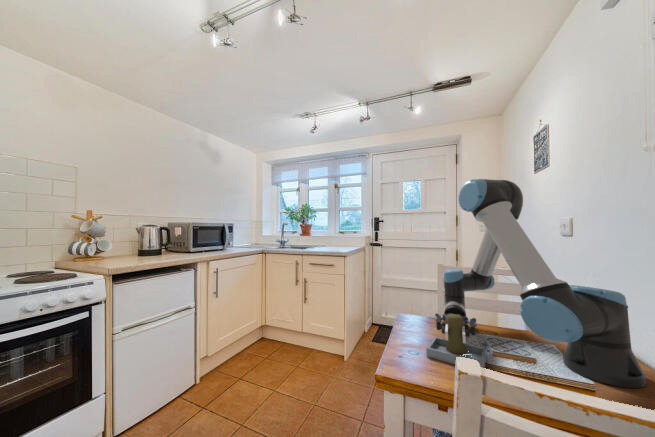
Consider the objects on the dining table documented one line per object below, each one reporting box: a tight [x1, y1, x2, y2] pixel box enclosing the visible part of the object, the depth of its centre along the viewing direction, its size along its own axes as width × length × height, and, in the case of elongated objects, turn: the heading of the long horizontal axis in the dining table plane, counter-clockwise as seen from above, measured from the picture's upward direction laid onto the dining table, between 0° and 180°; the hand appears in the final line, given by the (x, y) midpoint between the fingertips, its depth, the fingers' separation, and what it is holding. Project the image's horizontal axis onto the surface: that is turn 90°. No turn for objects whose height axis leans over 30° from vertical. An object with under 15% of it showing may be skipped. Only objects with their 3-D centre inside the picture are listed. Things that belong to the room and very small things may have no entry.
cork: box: [446, 314, 467, 355], centre depth 78 cm, size 6×6×11 cm
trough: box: [425, 336, 488, 368], centre depth 78 cm, size 16×11×3 cm
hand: (455, 337), depth 73 cm, fingers closed on cork, 4 cm apart
